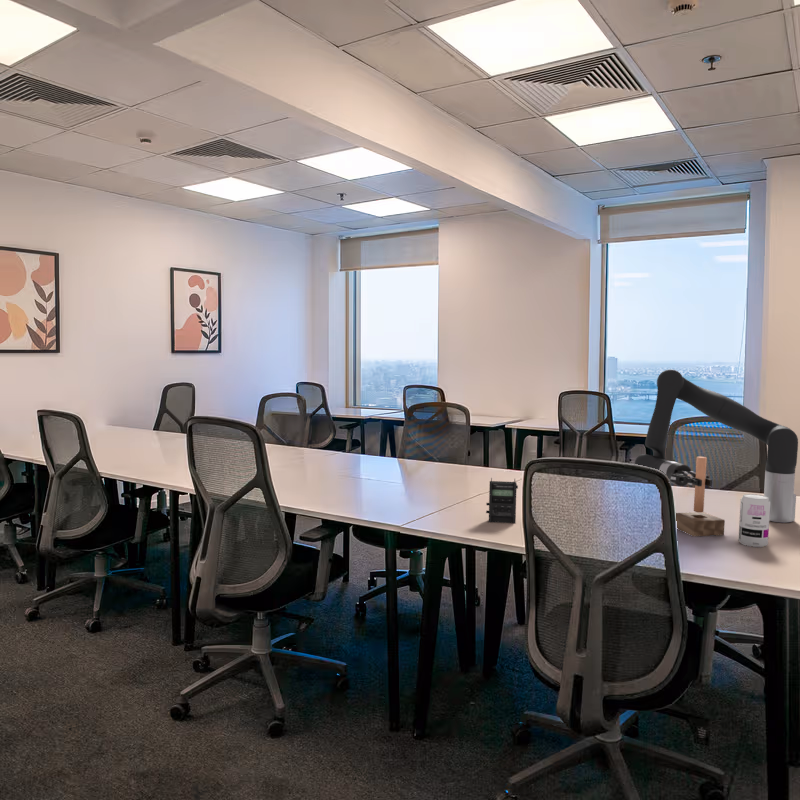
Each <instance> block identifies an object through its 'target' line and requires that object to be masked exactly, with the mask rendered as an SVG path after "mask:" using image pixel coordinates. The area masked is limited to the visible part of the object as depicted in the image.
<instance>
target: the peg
mask: <svg viewBox="0 0 800 800" xmlns="http://www.w3.org/2000/svg"><path fill="white" fill-rule="evenodd" d="M707 460H708V459H707V457H706V456H696V464H695V473H696V478H698V479H701V480H702V486H696V485H694V495H693V496H694V497H693V498H694V500H693V512H705V511H704V510H705V509H704V508H705V491H706V490H705V489H706V485H705V478H706V474H707Z"/></svg>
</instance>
